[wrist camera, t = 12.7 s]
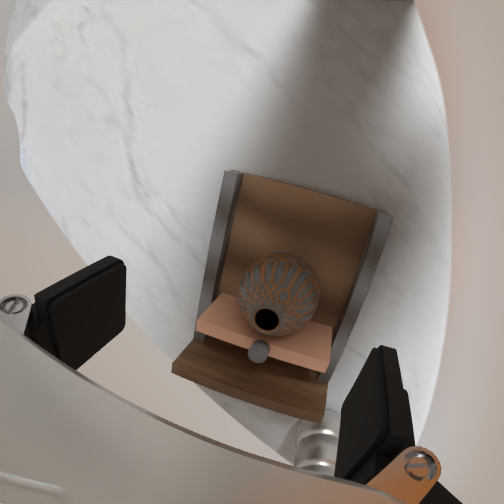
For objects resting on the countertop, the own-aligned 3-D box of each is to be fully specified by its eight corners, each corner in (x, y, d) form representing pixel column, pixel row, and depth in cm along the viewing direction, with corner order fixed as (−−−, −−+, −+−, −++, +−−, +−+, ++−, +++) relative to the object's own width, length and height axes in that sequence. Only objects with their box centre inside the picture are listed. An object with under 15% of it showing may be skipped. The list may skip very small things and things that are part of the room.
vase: (266, 318, 32) (242, 367, 24) (240, 257, 31) (206, 290, 23) (330, 301, 30) (326, 349, 22) (307, 234, 29) (295, 262, 21)
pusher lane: (234, 170, 30) (201, 172, 23) (387, 213, 27) (404, 228, 20) (201, 336, 36) (171, 372, 28) (325, 377, 33) (319, 423, 26)
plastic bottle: (350, 401, 33) (337, 553, 14) (349, 437, 34) (334, 571, 16) (297, 403, 35) (256, 547, 16) (300, 438, 36) (266, 567, 18)
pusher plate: (222, 290, 32) (192, 323, 25) (333, 325, 30) (329, 368, 23) (219, 303, 33) (189, 338, 26) (327, 338, 31) (323, 383, 24)
